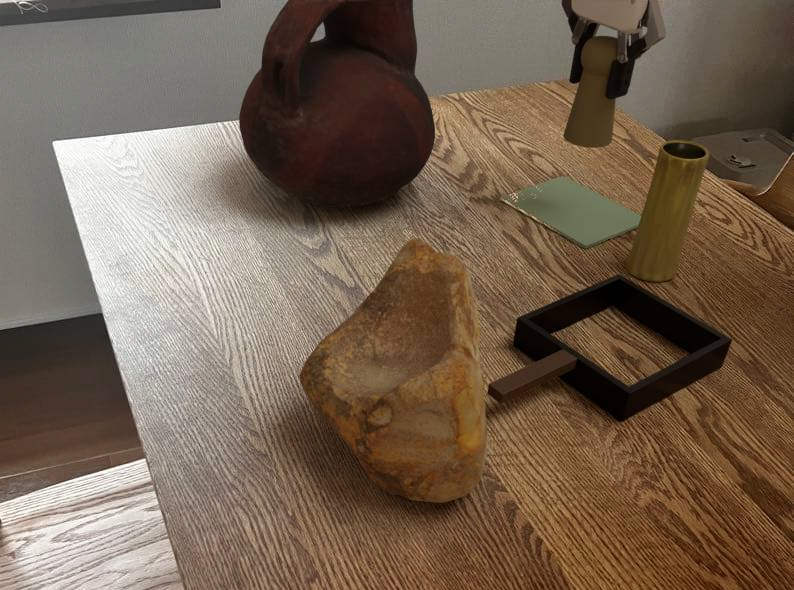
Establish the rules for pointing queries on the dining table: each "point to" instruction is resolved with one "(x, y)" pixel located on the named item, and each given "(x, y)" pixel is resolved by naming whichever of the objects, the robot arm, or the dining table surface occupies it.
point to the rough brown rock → (408, 379)
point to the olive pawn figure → (593, 96)
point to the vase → (667, 211)
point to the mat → (576, 211)
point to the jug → (339, 103)
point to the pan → (592, 379)
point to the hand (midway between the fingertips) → (597, 87)
